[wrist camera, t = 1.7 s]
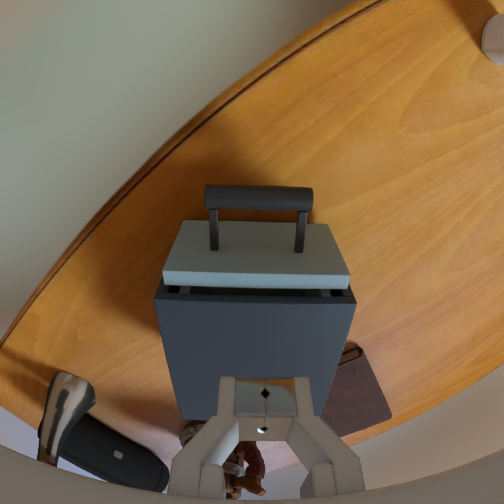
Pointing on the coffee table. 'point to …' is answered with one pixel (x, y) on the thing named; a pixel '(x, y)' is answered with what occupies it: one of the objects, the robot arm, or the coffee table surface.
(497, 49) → the eye dropper bottle
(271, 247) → the drawer
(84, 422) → the portable speaker
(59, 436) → the figurine
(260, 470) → the mug
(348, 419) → the brown leather sleeve case
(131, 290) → the coffee table surface
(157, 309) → the cabinet
